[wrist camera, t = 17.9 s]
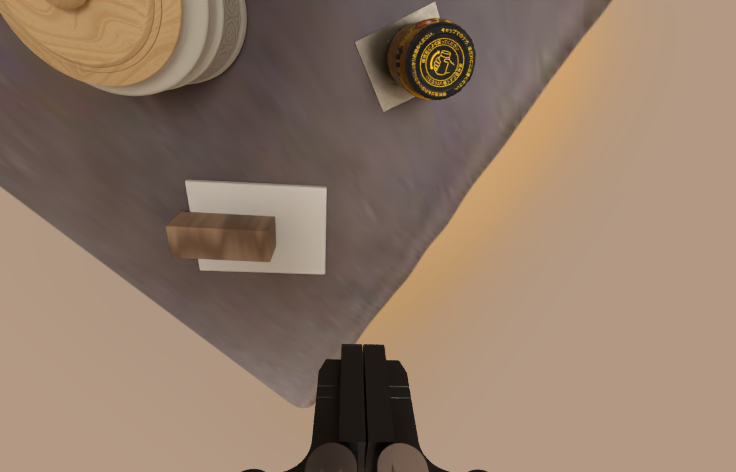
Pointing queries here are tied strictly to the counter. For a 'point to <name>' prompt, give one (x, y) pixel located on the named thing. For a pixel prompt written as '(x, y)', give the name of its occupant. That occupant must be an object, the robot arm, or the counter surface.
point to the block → (222, 236)
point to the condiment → (417, 58)
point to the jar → (132, 40)
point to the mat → (292, 218)
